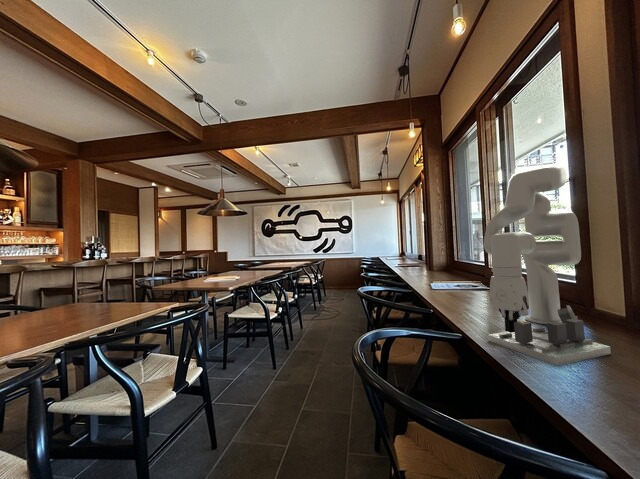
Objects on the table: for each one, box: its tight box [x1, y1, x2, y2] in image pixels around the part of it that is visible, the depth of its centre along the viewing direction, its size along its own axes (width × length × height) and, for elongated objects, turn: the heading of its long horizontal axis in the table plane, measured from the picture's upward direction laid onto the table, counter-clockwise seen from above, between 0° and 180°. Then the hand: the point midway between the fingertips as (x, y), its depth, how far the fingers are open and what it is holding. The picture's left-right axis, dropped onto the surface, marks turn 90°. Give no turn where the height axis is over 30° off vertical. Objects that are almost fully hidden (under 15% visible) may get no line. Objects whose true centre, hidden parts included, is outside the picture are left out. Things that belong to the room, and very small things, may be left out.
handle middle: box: [546, 322, 567, 345], centre depth 80 cm, size 4×3×6 cm
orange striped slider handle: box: [514, 320, 533, 343], centre depth 82 cm, size 4×3×6 cm
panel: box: [487, 326, 612, 367], centre depth 83 cm, size 20×21×3 cm
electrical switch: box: [557, 304, 579, 323], centre depth 92 cm, size 9×5×9 cm, turn 141°
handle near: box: [565, 319, 586, 341], centre depth 81 cm, size 4×3×6 cm
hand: (511, 331), depth 86 cm, fingers closed
